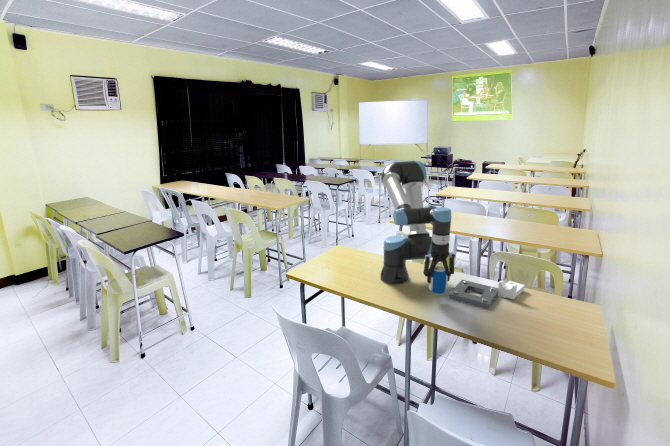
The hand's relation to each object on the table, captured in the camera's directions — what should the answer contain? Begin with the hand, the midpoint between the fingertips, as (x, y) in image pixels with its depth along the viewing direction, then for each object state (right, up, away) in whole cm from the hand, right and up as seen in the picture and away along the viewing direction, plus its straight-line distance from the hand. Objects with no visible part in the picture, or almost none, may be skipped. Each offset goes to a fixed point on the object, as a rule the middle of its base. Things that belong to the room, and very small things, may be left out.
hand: (437, 288), depth 159 cm
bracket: (+37, -4, +6) cm, 38 cm away
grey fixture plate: (+19, -5, +5) cm, 20 cm away
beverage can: (0, -2, +1) cm, 2 cm away
